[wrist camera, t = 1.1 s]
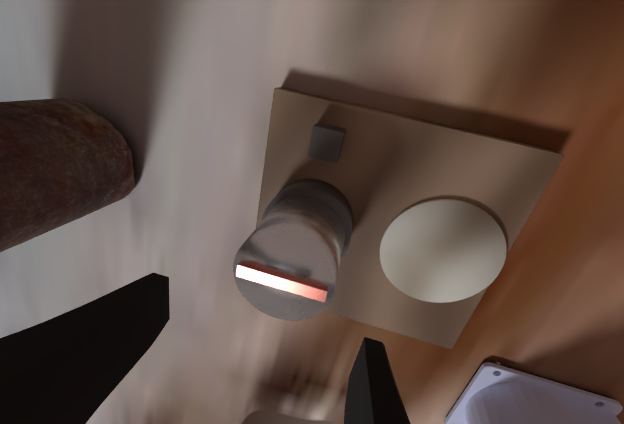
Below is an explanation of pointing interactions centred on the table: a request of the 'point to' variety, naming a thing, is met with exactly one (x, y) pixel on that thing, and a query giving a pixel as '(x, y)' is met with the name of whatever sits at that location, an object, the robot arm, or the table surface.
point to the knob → (292, 259)
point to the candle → (57, 166)
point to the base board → (405, 207)
